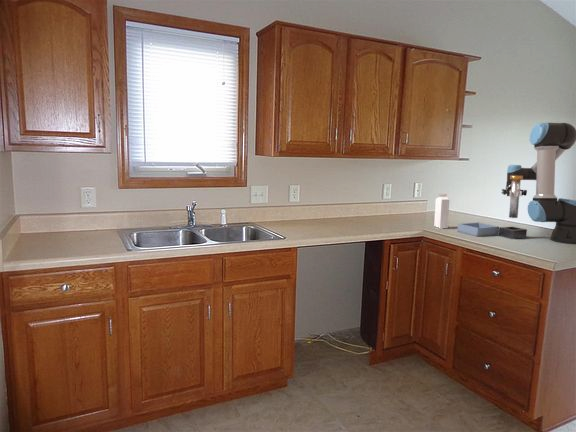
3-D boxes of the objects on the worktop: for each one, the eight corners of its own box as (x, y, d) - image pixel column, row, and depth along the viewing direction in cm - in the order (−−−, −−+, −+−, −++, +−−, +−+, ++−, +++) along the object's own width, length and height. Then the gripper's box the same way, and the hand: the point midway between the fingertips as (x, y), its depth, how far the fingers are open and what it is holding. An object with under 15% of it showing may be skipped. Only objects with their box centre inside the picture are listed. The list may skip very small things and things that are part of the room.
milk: (447, 228, 270) (450, 194, 267) (439, 229, 268) (442, 194, 265) (441, 227, 276) (443, 193, 272) (433, 227, 274) (435, 193, 270)
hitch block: (526, 237, 241) (526, 229, 240) (512, 239, 238) (513, 230, 237) (511, 234, 251) (512, 226, 250) (498, 235, 247) (499, 227, 246)
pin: (522, 217, 241) (525, 175, 238) (513, 218, 239) (517, 176, 236) (512, 216, 247) (516, 175, 244) (504, 216, 245) (507, 175, 242)
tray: (498, 234, 250) (499, 226, 249) (477, 236, 244) (477, 228, 244) (477, 230, 265) (478, 222, 264) (457, 231, 259) (458, 223, 258)
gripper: (529, 197, 254) (533, 201, 233) (497, 196, 261) (498, 199, 240) (530, 185, 253) (534, 187, 232) (498, 184, 260) (498, 186, 239)
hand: (515, 193), depth 236 cm, fingers closed on pin, 4 cm apart
